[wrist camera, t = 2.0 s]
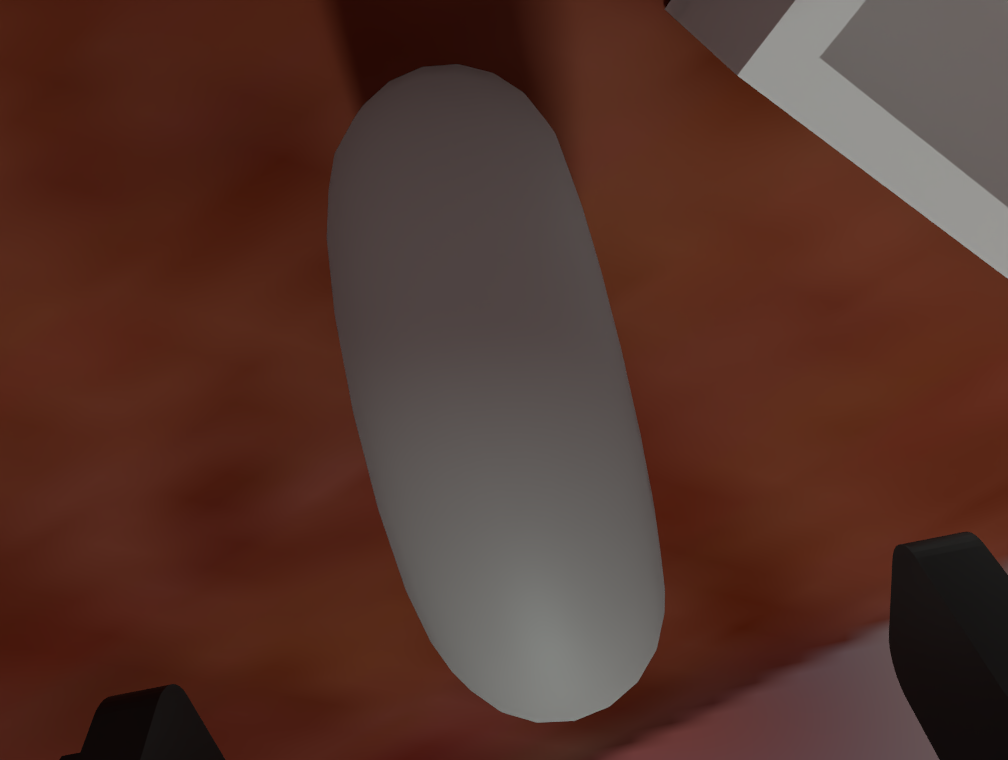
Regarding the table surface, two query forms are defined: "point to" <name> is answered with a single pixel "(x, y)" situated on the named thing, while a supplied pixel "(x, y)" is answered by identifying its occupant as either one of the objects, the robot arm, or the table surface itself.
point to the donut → (493, 395)
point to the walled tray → (887, 93)
